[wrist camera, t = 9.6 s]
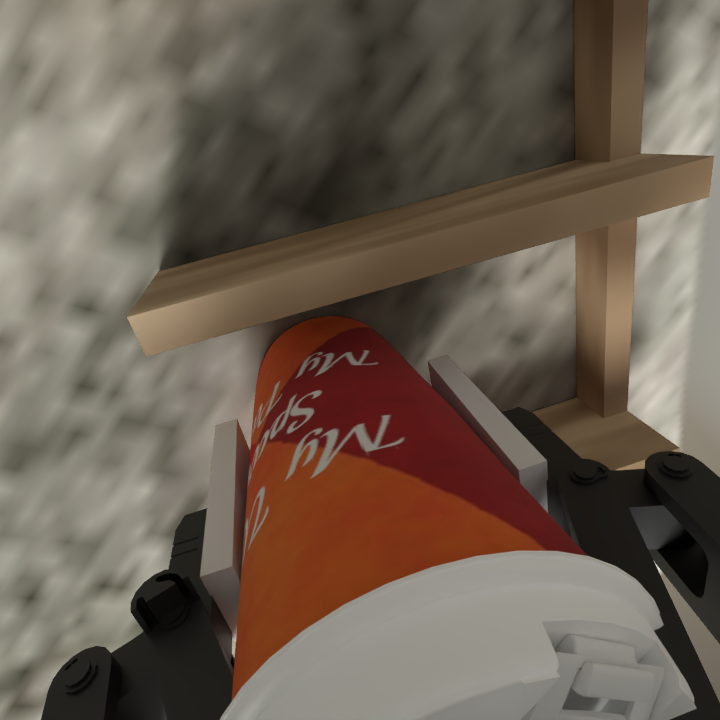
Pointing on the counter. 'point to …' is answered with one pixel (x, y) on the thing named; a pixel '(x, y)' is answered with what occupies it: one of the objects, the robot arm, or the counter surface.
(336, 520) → the coffee cup
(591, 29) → the oak rack
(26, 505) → the counter surface
